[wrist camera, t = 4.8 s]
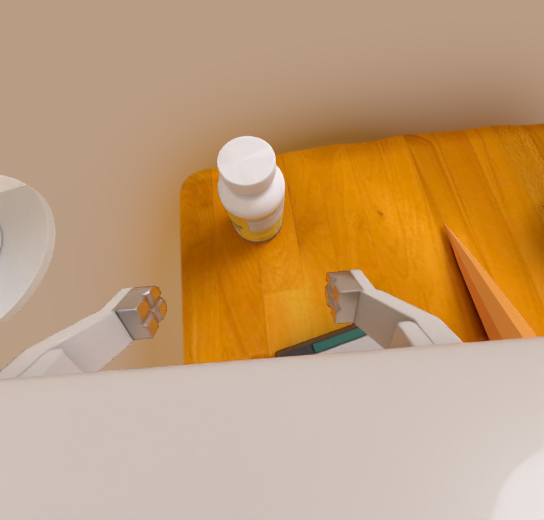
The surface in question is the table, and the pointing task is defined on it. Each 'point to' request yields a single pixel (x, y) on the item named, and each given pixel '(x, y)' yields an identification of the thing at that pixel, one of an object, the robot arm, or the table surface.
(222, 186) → the pill bottle
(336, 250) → the table surface
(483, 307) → the carrot
